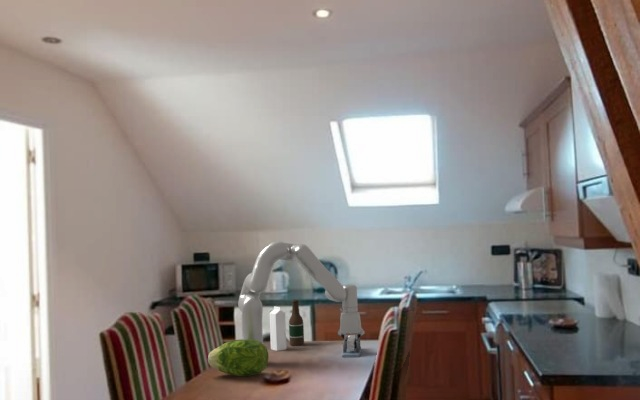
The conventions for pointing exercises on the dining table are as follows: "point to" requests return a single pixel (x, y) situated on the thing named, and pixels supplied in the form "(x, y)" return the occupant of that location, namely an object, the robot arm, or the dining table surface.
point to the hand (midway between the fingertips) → (351, 347)
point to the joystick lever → (351, 343)
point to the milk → (277, 329)
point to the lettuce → (239, 357)
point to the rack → (352, 353)
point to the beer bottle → (296, 326)
